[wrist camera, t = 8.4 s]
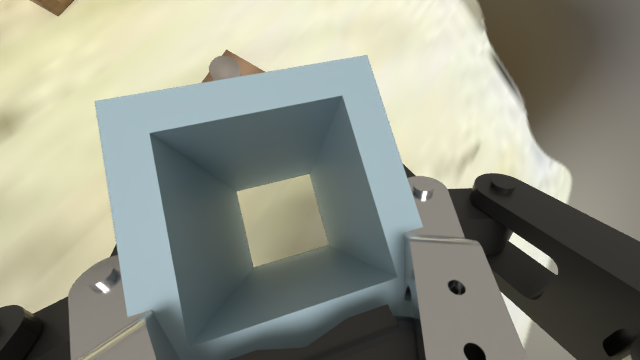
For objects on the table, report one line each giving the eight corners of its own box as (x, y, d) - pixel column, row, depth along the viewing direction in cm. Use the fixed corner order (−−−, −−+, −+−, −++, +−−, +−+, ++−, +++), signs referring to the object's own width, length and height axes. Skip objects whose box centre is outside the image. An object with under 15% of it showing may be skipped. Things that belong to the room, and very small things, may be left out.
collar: (240, 290, 13) (143, 421, 4) (216, 179, 14) (94, 100, 5) (348, 256, 14) (449, 308, 5) (320, 155, 15) (366, 54, 6)
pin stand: (175, 129, 26) (123, 86, 18) (229, 56, 28) (204, -11, 20) (259, 177, 26) (245, 156, 18) (307, 101, 28) (313, 52, 20)
